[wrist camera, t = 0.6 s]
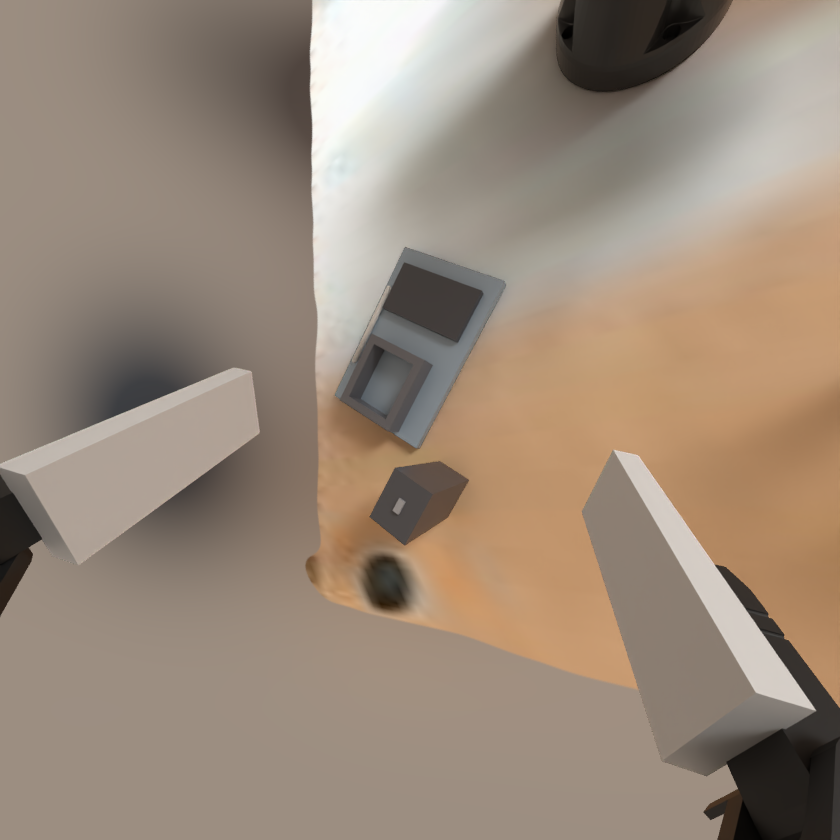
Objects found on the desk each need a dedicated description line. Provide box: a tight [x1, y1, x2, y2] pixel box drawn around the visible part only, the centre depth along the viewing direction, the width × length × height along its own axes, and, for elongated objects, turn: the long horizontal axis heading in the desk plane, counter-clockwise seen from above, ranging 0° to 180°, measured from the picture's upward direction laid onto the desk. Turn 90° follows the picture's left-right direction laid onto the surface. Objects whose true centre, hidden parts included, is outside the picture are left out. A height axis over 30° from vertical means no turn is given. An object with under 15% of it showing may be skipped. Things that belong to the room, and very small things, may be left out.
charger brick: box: [370, 461, 469, 545], centre depth 32 cm, size 5×4×11 cm
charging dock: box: [335, 247, 506, 448], centre depth 38 cm, size 21×14×4 cm, turn 149°
